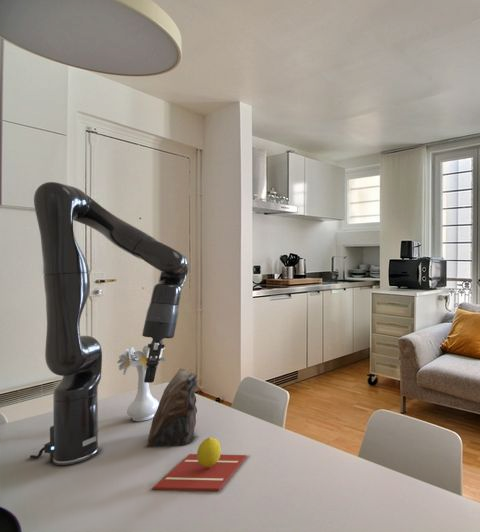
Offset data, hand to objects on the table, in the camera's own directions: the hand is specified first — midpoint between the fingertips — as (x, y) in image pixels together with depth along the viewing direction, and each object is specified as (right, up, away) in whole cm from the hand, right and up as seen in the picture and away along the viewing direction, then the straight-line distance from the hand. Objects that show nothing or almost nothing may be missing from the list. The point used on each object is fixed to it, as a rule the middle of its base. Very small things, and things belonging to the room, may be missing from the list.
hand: (149, 380), depth 100 cm
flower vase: (-21, -22, +27) cm, 41 cm away
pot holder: (+17, -23, -5) cm, 29 cm away
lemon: (+18, -22, -4) cm, 29 cm away
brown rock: (-2, -22, +13) cm, 26 cm away
